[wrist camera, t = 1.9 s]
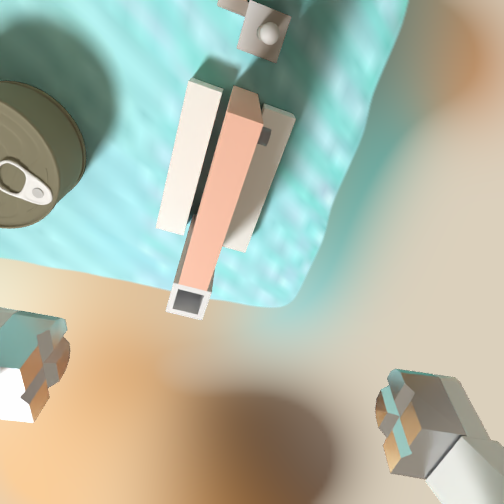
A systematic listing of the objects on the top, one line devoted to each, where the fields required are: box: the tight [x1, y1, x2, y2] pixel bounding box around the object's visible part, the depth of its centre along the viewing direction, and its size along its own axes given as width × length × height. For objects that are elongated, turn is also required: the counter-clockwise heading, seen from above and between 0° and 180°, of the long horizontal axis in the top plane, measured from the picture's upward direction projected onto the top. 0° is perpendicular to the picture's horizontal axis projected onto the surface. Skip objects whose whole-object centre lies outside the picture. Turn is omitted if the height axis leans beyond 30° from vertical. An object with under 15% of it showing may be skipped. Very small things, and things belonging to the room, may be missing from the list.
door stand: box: [156, 78, 296, 253], centre depth 37 cm, size 10×15×2 cm, turn 161°
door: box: [166, 85, 272, 320], centre depth 33 cm, size 4×17×13 cm, turn 161°
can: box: [0, 81, 86, 228], centre depth 33 cm, size 12×12×7 cm
